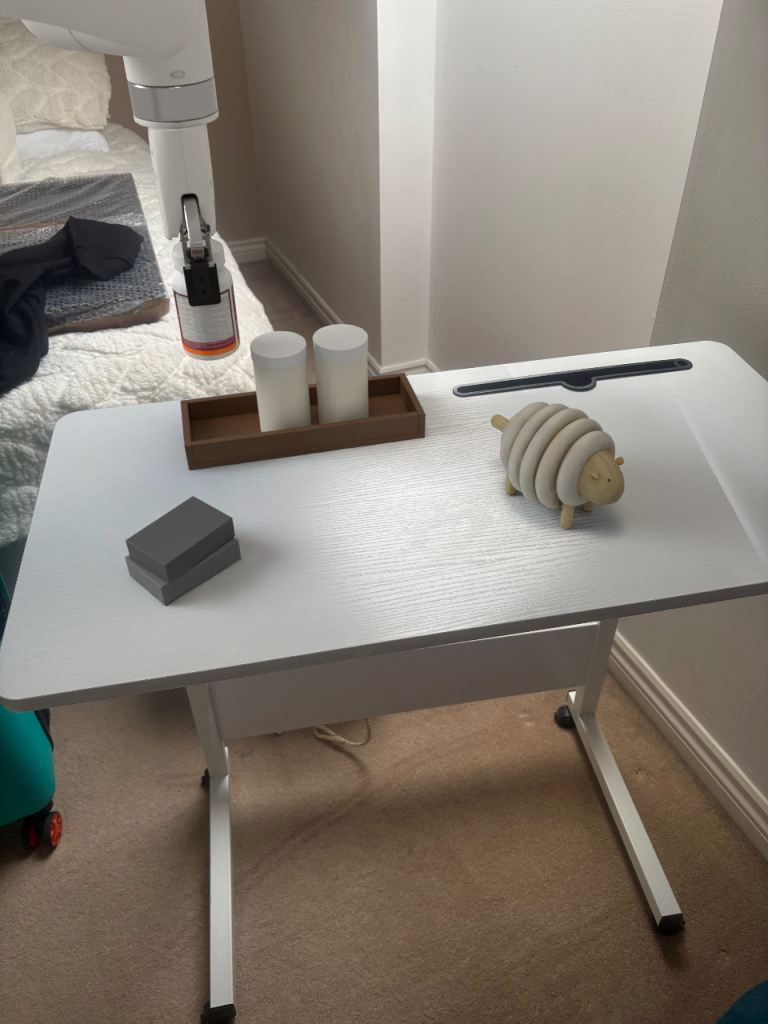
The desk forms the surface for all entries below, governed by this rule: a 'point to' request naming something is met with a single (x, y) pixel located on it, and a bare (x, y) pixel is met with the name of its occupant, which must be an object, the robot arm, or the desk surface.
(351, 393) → the white bottle
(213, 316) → the pill bottle
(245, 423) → the tray
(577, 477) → the toy sheep
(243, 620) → the desk surface
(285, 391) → the white bottle
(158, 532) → the grey books
